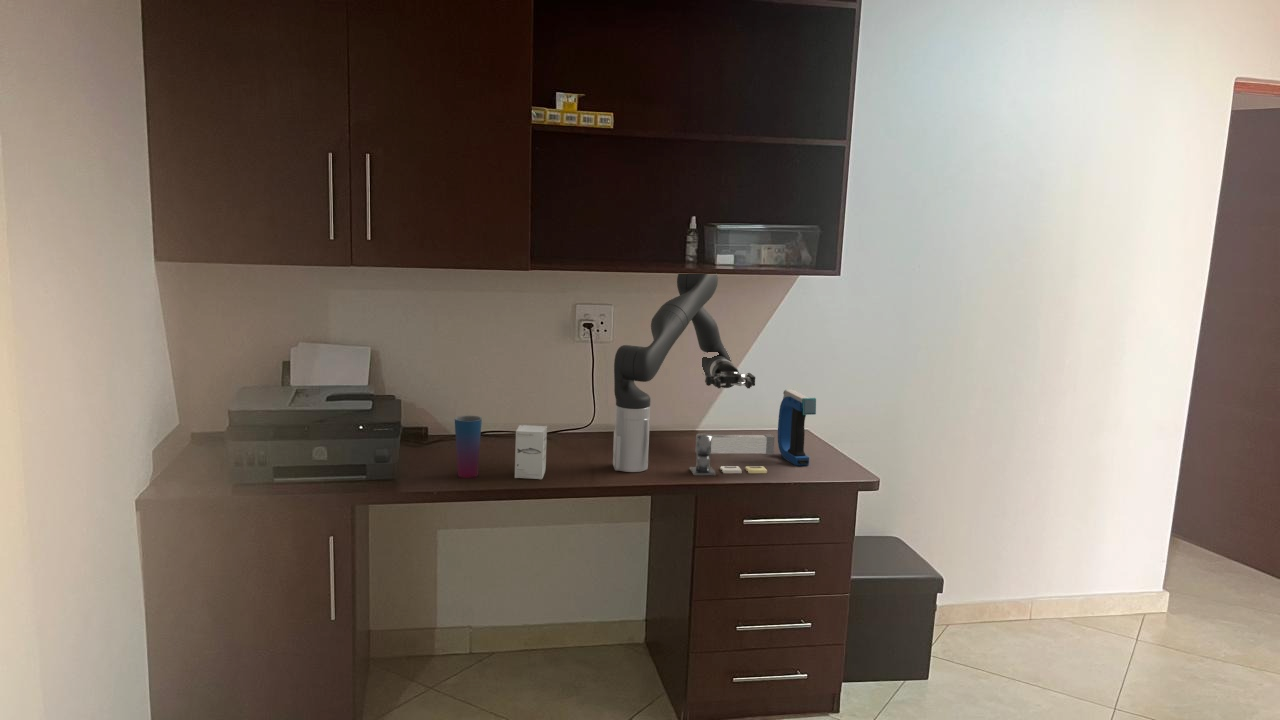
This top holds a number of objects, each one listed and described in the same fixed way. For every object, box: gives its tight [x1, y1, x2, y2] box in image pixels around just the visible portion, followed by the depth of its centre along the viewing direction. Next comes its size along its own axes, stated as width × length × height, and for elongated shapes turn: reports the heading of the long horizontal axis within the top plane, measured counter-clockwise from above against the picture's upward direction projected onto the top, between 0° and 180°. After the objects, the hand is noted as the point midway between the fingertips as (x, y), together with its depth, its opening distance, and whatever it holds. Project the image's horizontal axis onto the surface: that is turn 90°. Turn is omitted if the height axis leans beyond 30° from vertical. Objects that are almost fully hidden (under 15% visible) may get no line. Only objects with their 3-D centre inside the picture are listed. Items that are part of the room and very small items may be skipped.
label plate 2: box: [745, 465, 768, 474], centre depth 254 cm, size 5×4×1 cm
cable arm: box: [694, 432, 775, 455], centre depth 251 cm, size 21×4×5 cm, turn 97°
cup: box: [454, 414, 483, 479], centre depth 239 cm, size 7×7×15 cm
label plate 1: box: [720, 465, 743, 474], centre depth 253 cm, size 5×4×1 cm
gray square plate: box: [689, 453, 717, 476], centre depth 251 cm, size 6×6×5 cm
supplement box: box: [514, 424, 548, 480], centre depth 241 cm, size 7×7×13 cm
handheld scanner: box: [777, 389, 817, 467], centre depth 265 cm, size 5×16×20 cm, turn 15°
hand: (734, 385), depth 265 cm, fingers open, 8 cm apart
